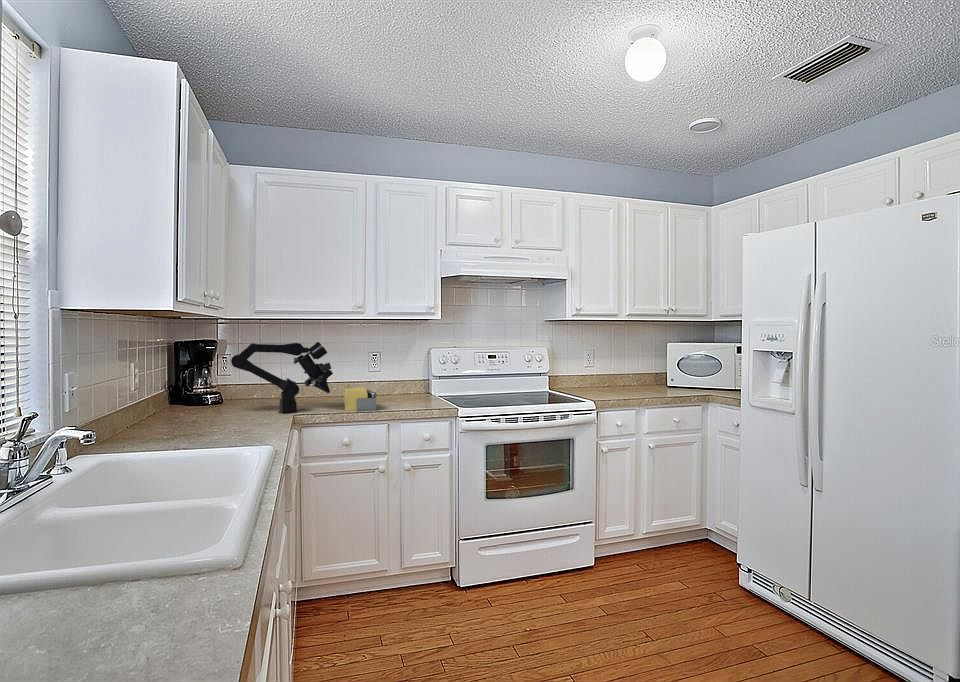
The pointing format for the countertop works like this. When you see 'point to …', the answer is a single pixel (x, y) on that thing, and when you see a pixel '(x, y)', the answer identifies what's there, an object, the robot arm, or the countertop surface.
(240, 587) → the countertop surface
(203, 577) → the countertop surface
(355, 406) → the cheese
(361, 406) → the leaf bracket
